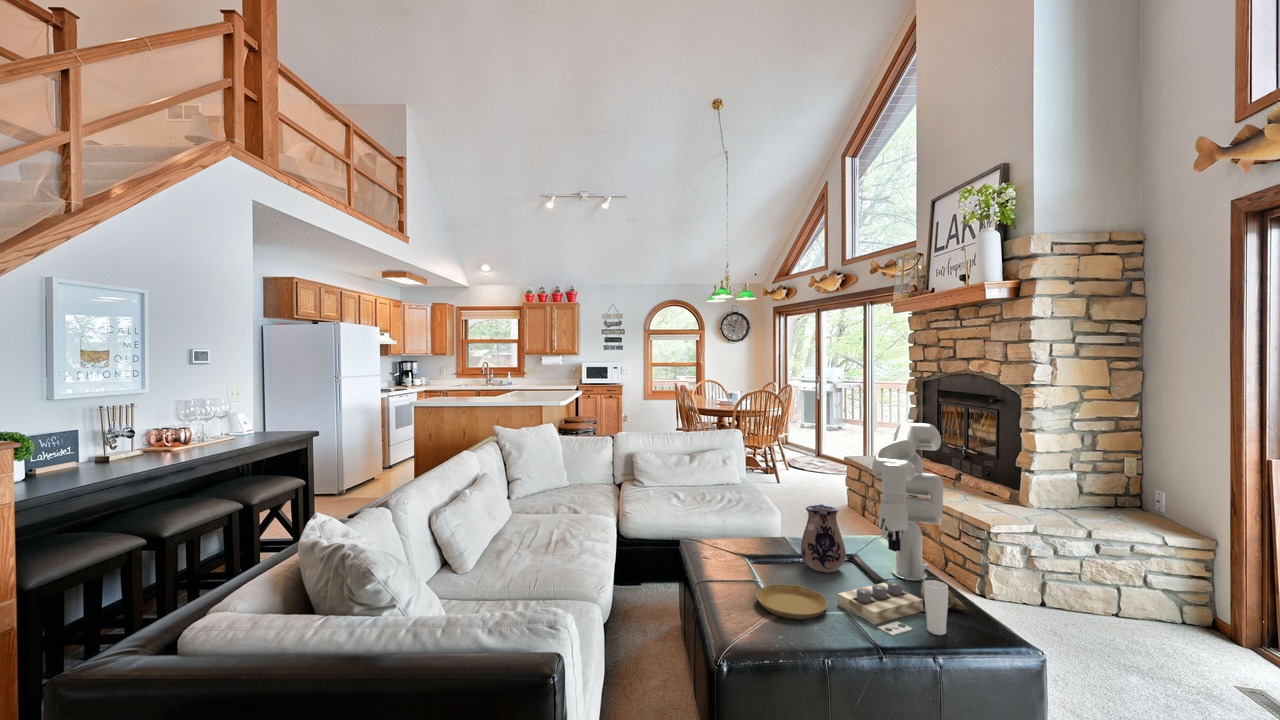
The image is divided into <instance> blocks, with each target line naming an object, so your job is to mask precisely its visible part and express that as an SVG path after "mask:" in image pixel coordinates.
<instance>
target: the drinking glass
mask: <svg viewBox="0 0 1280 720" xmlns="http://www.w3.org/2000/svg"><path fill="white" fill-rule="evenodd" d="M948 590H949V586H948V584H946V583H945V582H942V581H939V580H934V579H933V580H931V579H930V580H928V581H925V582H924V599H925V601H924V607H925V619H926V630H927V631H928V632H929V633H930V634H933V635H936V636H944V635H946V633H947V623H948V610H949V608H948Z"/></svg>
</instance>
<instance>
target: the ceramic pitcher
mask: <svg viewBox="0 0 1280 720" xmlns="http://www.w3.org/2000/svg"><path fill="white" fill-rule="evenodd" d="M805 510H806V512H807V514H808V517H807V521H806V525H805V529H804V531H803V534H802V539H801V546H800V547H801V548H800V552H801V553H800V554H801V556H802V558H803V560H804V562H805V564H806V565H807V566H809V568H811V569H812V570H813V571H817V572H821V573H833V572H835V571H837V570H839V569H840V568H841V567H842V565H843V564H844V562H845V559H846V554H847V553H846V547H845V546H846V545H845V543H844V540H843V537H842V533H841V531H840V530H841V529H840V528H839V525H838V524H839V523H838V522H837V521H838V520H837V514H838V512H839V509H837V508H836V507H834V506H833V507H832V506H828V505H824V504H823V503H821V504H820V503H819V504H818V505H817V504H815V505H809V506H807V507H805Z"/></svg>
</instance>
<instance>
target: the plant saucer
mask: <svg viewBox="0 0 1280 720" xmlns="http://www.w3.org/2000/svg"><path fill="white" fill-rule="evenodd" d="M755 596H756V599H757V601H758V602H759V604H760V605H761V606H762V607H763V608H764V609H766V611H768V612H769V613H771V614H773V615H775V616H779V617H781V616H782V617H781V618H785V617H787V618H786V619H790V618H796V619H795V620H803V619H802V618H810V619H813V618H812V617H814V618H816V617H818V616H820V615H822V614H823V613H824V612H825V611H826V610H827V608H828V605H829V603H828V600H827V598H826V597H825V596H823V595H822V593H819V592H818V591H816V590H813V589H811V588H807V587H804V586H801V585H794V584H784V583H781V584H780V583H779V584H778V583H777V584H770V585H766V586H763V587H761V588H760V589H758V590H757V591H756V593H755Z"/></svg>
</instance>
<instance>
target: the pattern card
mask: <svg viewBox="0 0 1280 720" xmlns="http://www.w3.org/2000/svg"><path fill="white" fill-rule="evenodd" d="M877 629H879V630H881V631H883V632H884V633H887V634H888V635H890V636H894V637H895V636H897V635H900V634H904V633H907V632H912V631H913V630H914V629H913V628H912V627H911V626H908V625H906V624H904V623H902V622H900V621H898V620H897V621H892V622H890V623H887V624H883V625H879V626H877Z"/></svg>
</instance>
